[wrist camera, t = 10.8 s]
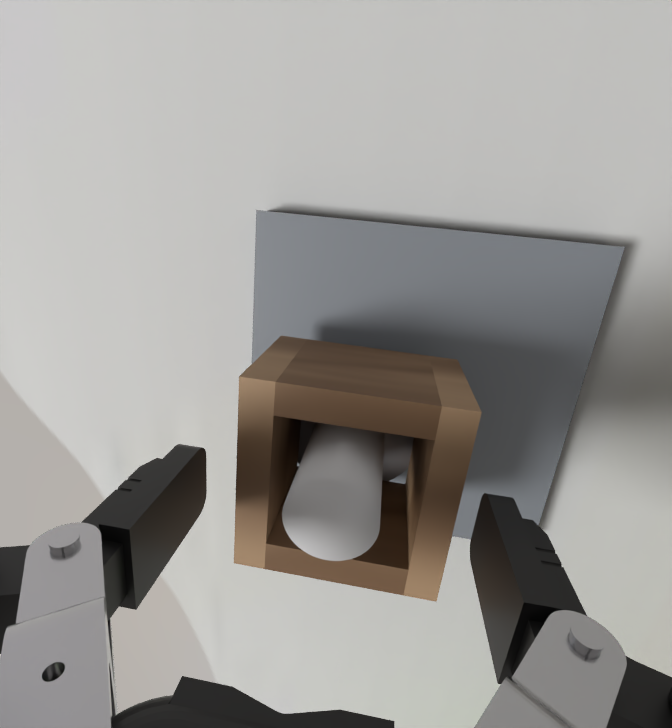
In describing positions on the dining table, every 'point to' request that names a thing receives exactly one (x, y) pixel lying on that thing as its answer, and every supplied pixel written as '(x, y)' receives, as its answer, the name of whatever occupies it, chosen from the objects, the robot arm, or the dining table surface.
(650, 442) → the dining table surface
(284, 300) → the post stand
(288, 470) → the wooden square frame
